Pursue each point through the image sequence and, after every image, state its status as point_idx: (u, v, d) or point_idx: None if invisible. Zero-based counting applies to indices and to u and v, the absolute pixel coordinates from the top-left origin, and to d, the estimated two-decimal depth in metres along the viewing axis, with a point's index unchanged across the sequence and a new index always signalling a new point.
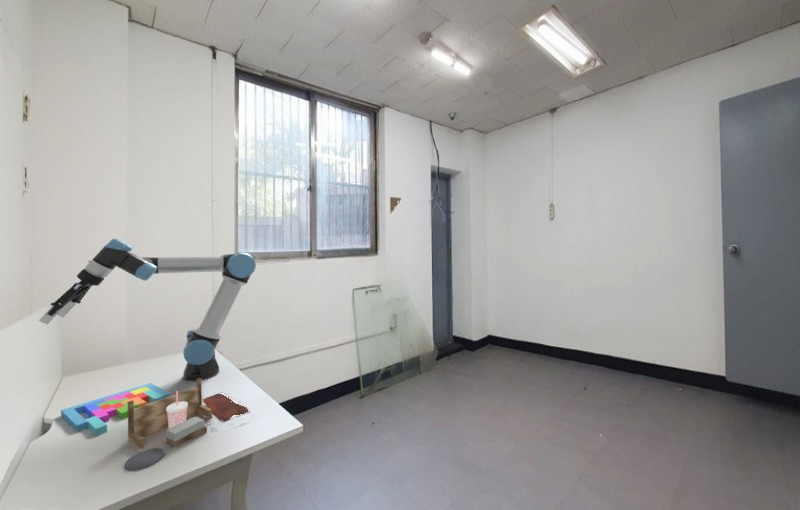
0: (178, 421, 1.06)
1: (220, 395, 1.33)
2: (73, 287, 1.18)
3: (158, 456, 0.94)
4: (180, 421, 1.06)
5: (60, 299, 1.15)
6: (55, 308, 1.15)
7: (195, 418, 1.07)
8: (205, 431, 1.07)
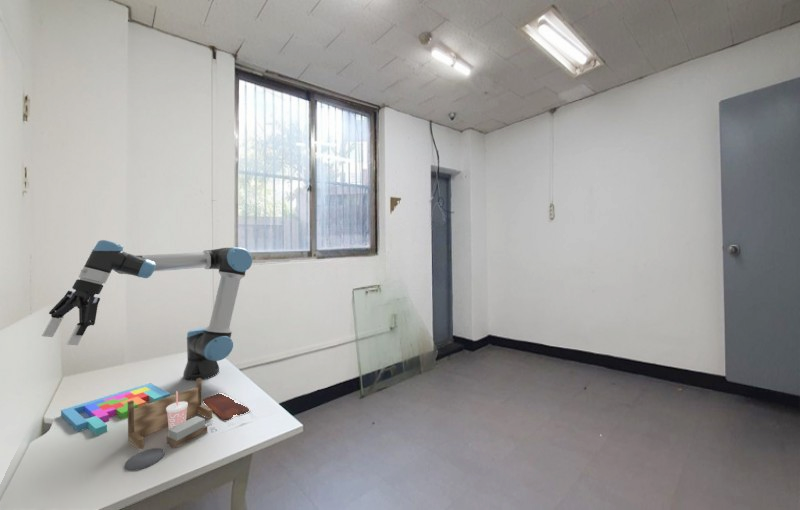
0: (178, 421, 1.06)
1: (220, 395, 1.33)
2: (92, 301, 1.09)
3: (158, 456, 0.94)
4: (180, 421, 1.06)
5: (89, 316, 1.07)
6: (84, 327, 1.07)
7: (197, 418, 1.08)
8: (206, 431, 1.07)
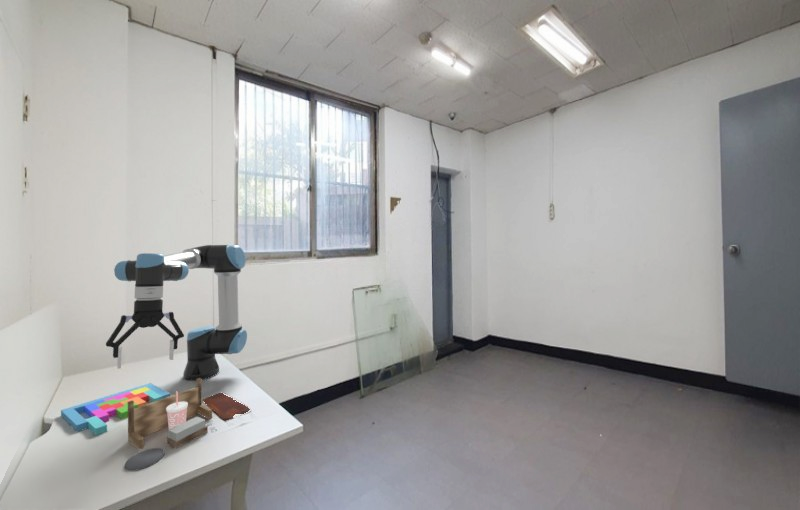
0: (178, 421, 1.06)
1: (220, 395, 1.33)
2: None
3: (158, 456, 0.94)
4: (180, 421, 1.06)
5: (180, 329, 1.11)
6: None
7: (197, 418, 1.07)
8: (206, 431, 1.07)
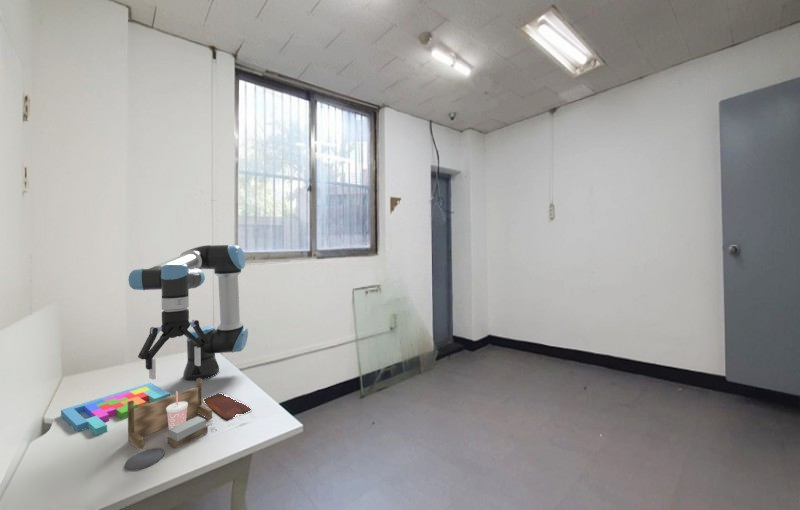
0: (178, 421, 1.06)
1: (220, 395, 1.33)
2: None
3: (158, 456, 0.94)
4: (180, 421, 1.06)
5: None
6: None
7: (198, 418, 1.08)
8: (206, 431, 1.07)
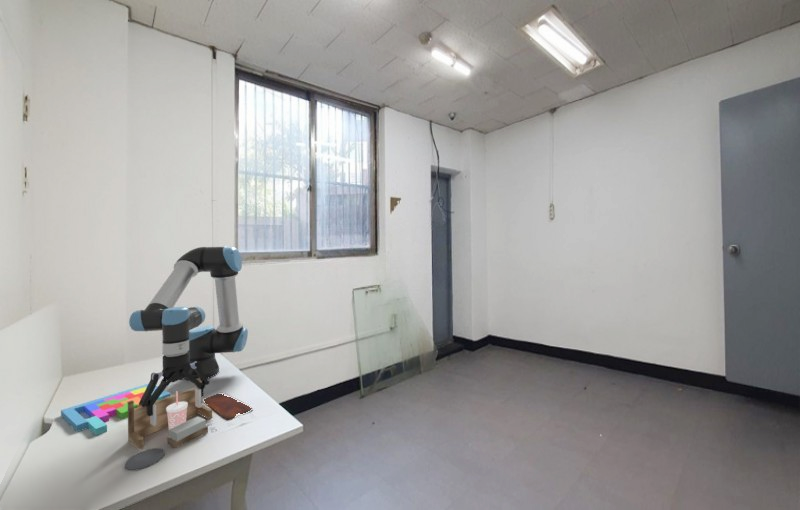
0: (178, 421, 1.06)
1: (221, 395, 1.34)
2: None
3: (158, 456, 0.94)
4: (180, 421, 1.06)
5: None
6: None
7: (198, 418, 1.07)
8: (206, 431, 1.07)
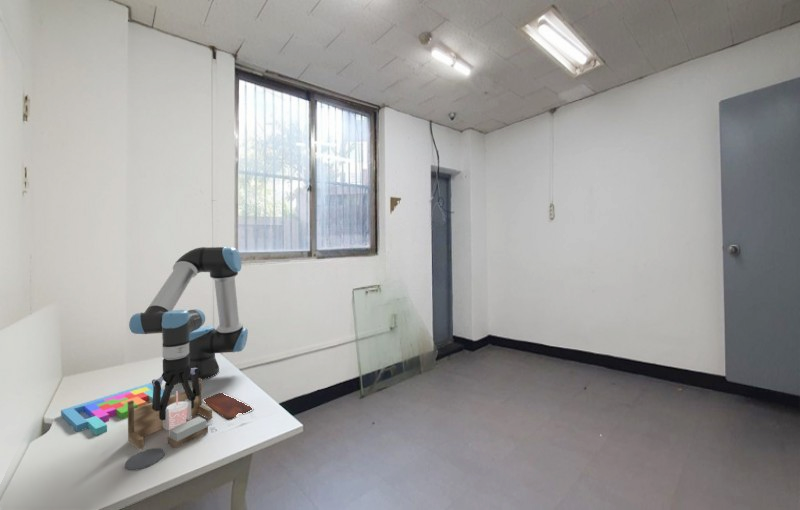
0: (178, 421, 1.06)
1: (221, 395, 1.34)
2: None
3: (158, 456, 0.94)
4: (180, 421, 1.06)
5: None
6: None
7: (198, 418, 1.07)
8: (206, 431, 1.07)
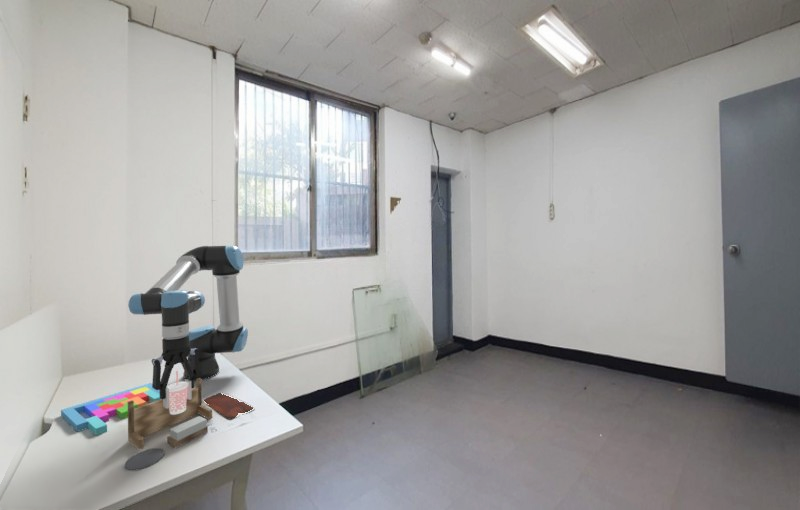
0: (178, 400, 1.06)
1: (221, 395, 1.34)
2: None
3: (158, 456, 0.94)
4: (180, 400, 1.06)
5: None
6: None
7: (199, 418, 1.08)
8: (206, 431, 1.07)
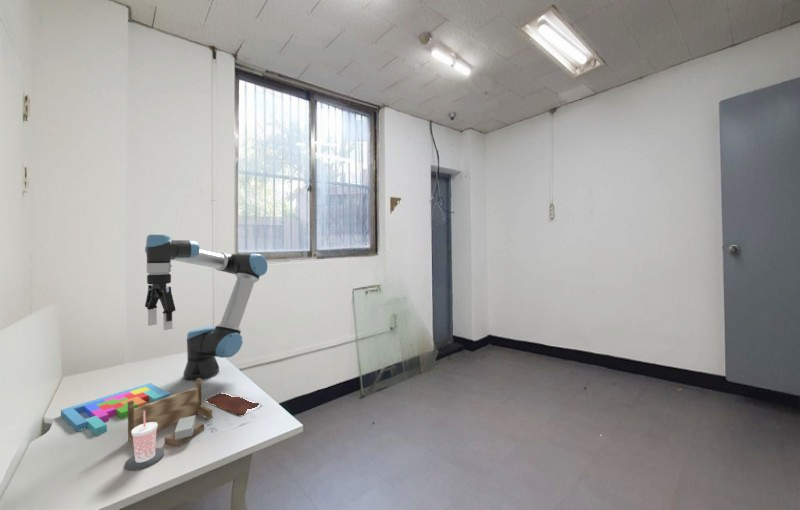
0: None
1: (222, 394, 1.34)
2: None
3: (158, 456, 0.94)
4: None
5: None
6: None
7: (184, 418, 1.07)
8: (203, 428, 1.08)
